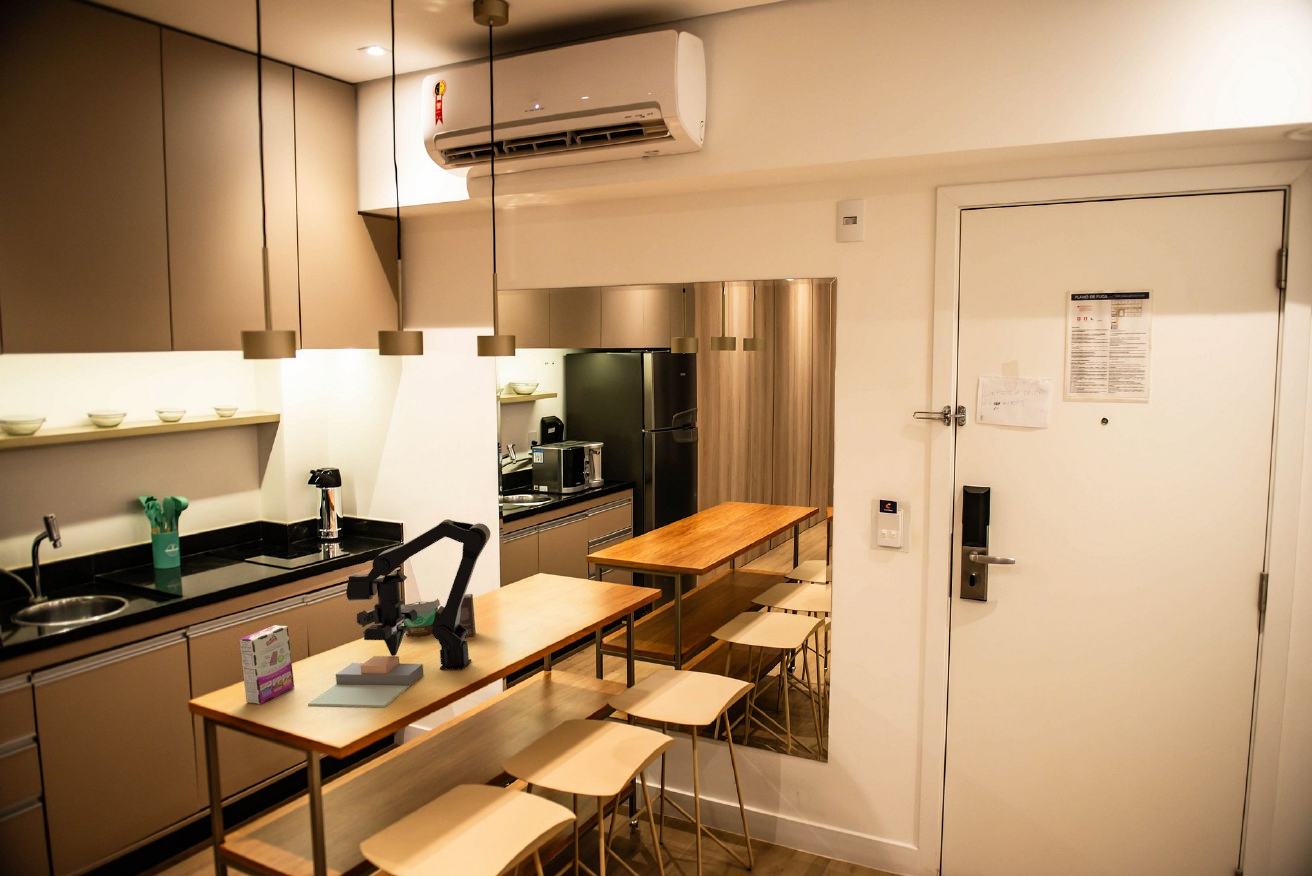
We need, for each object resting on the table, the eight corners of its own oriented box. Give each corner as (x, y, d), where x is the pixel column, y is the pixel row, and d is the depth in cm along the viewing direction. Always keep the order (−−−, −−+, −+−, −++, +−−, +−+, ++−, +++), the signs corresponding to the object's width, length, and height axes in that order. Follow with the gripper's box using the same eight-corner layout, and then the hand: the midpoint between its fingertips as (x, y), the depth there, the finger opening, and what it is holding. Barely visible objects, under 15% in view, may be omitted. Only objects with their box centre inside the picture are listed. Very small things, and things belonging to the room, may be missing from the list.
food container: (399, 640, 247) (397, 607, 246) (400, 634, 253) (397, 602, 252) (442, 635, 250) (440, 602, 249) (442, 629, 256) (439, 597, 255)
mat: (408, 687, 209) (408, 685, 209) (384, 707, 197) (384, 705, 197) (335, 686, 212) (335, 684, 212) (308, 705, 201) (308, 703, 201)
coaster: (399, 663, 218) (398, 656, 218) (386, 673, 211) (385, 665, 211) (374, 663, 219) (374, 655, 219) (361, 673, 212) (360, 665, 212)
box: (475, 632, 251) (473, 593, 250) (474, 636, 247) (471, 597, 246) (455, 633, 251) (452, 594, 250) (453, 638, 246) (450, 598, 245)
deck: (423, 675, 217) (422, 663, 217) (409, 686, 209) (408, 675, 209) (353, 674, 221) (352, 663, 220) (336, 685, 213) (335, 674, 213)
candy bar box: (280, 686, 215) (274, 624, 213) (295, 688, 213) (289, 625, 211) (244, 703, 204) (238, 638, 203) (259, 705, 202) (253, 639, 201)
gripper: (379, 588, 232) (383, 643, 233) (342, 608, 213) (347, 667, 215) (416, 588, 230) (420, 643, 231) (382, 608, 211) (387, 668, 213)
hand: (393, 655), depth 222 cm, fingers closed
